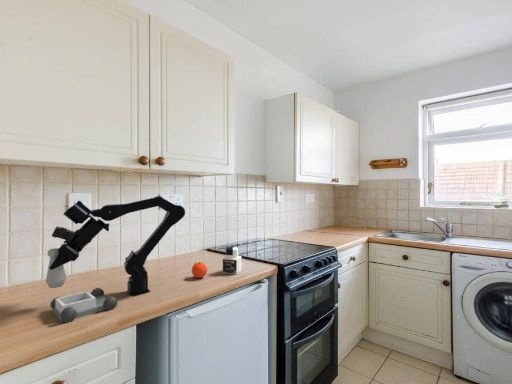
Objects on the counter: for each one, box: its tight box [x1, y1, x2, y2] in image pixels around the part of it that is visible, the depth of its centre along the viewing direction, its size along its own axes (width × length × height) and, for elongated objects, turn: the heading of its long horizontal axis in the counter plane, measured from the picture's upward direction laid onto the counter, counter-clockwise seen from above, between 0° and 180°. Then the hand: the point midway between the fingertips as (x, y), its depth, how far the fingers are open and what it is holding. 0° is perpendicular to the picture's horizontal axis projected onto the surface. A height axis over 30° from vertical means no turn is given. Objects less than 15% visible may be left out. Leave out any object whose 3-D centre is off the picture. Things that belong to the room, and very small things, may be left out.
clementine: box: [191, 261, 208, 279], centre depth 129 cm, size 8×7×7 cm
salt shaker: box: [45, 247, 67, 289], centre depth 98 cm, size 6×6×13 cm
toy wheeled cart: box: [49, 287, 118, 323], centre depth 95 cm, size 16×14×4 cm
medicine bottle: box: [222, 246, 243, 275], centre depth 137 cm, size 7×7×12 cm
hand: (51, 267), depth 97 cm, fingers closed on salt shaker, 3 cm apart
